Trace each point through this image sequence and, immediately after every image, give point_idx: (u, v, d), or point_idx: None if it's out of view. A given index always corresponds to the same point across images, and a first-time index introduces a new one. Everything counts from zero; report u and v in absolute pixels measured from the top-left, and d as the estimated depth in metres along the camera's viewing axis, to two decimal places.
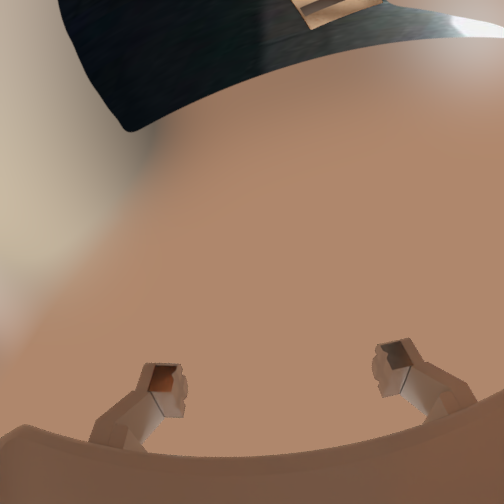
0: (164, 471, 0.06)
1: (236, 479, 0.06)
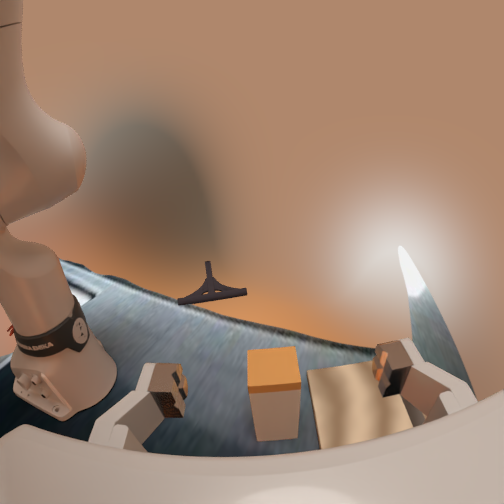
0: (163, 471, 0.06)
1: (236, 479, 0.06)
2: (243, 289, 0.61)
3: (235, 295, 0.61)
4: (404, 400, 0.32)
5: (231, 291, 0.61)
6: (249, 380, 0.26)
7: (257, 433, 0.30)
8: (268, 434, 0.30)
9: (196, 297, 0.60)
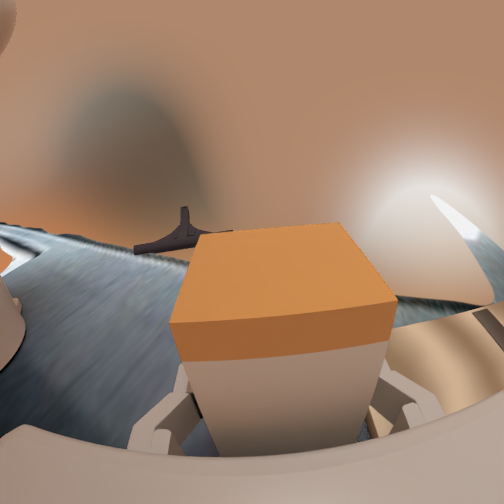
0: (163, 470, 0.06)
1: (236, 479, 0.06)
2: (228, 231, 0.41)
3: None
4: None
5: None
6: (182, 303, 0.07)
7: None
8: None
9: (160, 243, 0.40)
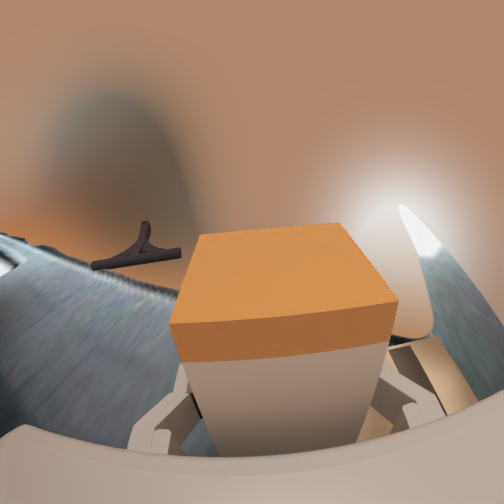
0: (164, 470, 0.06)
1: (236, 479, 0.06)
2: (175, 249, 0.43)
3: (164, 257, 0.42)
4: None
5: (159, 251, 0.42)
6: (182, 303, 0.07)
7: None
8: None
9: (113, 259, 0.41)
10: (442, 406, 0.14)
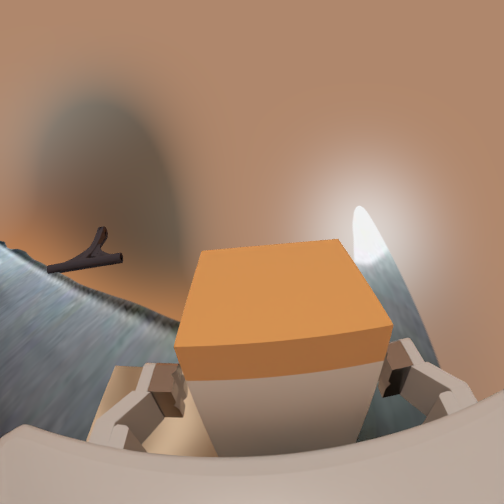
0: (164, 471, 0.06)
1: (236, 479, 0.06)
2: (116, 254, 0.43)
3: (106, 262, 0.42)
4: None
5: (102, 256, 0.42)
6: (186, 326, 0.07)
7: None
8: None
9: (65, 263, 0.41)
10: None
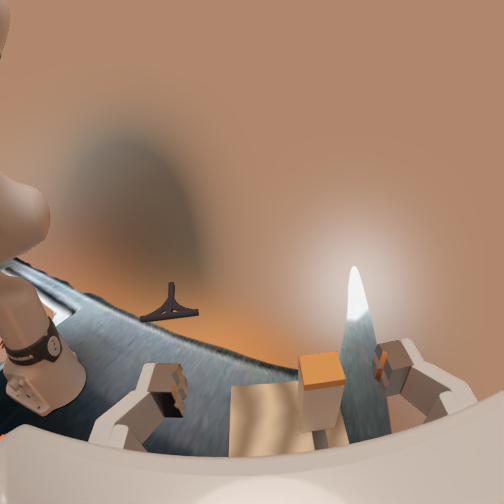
0: (164, 470, 0.06)
1: (236, 479, 0.06)
2: (195, 310, 0.68)
3: (188, 315, 0.68)
4: None
5: (184, 311, 0.68)
6: (304, 380, 0.32)
7: (303, 425, 0.36)
8: (312, 425, 0.36)
9: (155, 316, 0.67)
10: None
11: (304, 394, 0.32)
